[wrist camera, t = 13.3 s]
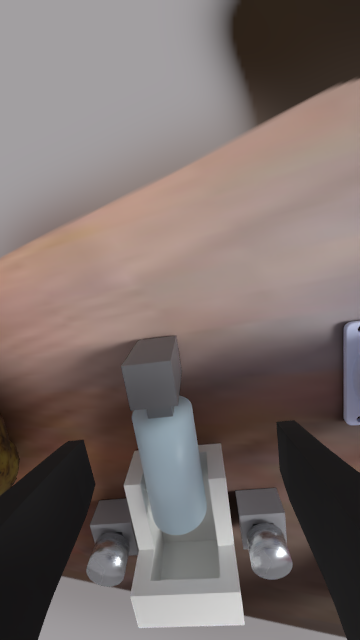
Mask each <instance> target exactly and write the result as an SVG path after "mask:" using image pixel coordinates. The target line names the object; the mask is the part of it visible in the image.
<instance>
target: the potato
mask: <svg viewBox="0 0 360 640" xmlns="http://www.w3.org/2000/svg"><path fill="white" fill-rule="evenodd" d="M19 460H20V459H19V455H18V451H17V449H16V446H15V445H14V444H13V443H12V442H11V441H9V437H8V433H7V429H6V426H5V423H4V421H3V418H2V416H1V415H0V495H2V494H3V493H4V492H6V491H7V490H8V489H9V488H10V487H11V486H12V485H13V484H14V482H15V480H16V479H17V478H16V476H17V474H18V469H19Z"/></svg>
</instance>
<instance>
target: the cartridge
mask: <svg viewBox="0 0 360 640" xmlns="http://www.w3.org/2000/svg"><path fill="white" fill-rule="evenodd" d="M121 368H122V373H123V378H124V383H125V387H126V392H127V397H128V401H129V406H130V411H133V410H134V411H133V414H132V422H133V426H134V431H135V436H136V440H137V445H138V450H139V454H140V459H141V464H142V469H143V473H144V478H145V483H146V487H147V492H148V497H149V501H150V506H151V511H152V515H153V520H154V522H155V524H156V526H157V527H158V528H159V529H160V530H161V531H163V532H165V533H167V534H170V535H183V534H186V533H189V532H191V531H192V530H194V529H195V528H197V527H198V526H199V525H200V523H201V522H202V520H203V519H204V517H205V514H206V510H207V503H206V496H205V489H204V483H203V476H202V469H201V463H200V456H199V449H198V443H197V436H196V429H195V423H194V416H193V410H192V404H191V402H190V401H189V400H188V399H187V398H185V397H183V396H180V395H179V393H180V384H181V374H182V369H181V363H180V357H179V350H178V344H177V337H176V336H168V337H160V338H152V339H144V340H138V341H137V343H136V344H135V346H134V347H133V349H132V350H131V352H130V353H129V355H128V357H127V358H126V360H125V361H124V363H123V364H122V366H121Z"/></svg>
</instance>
